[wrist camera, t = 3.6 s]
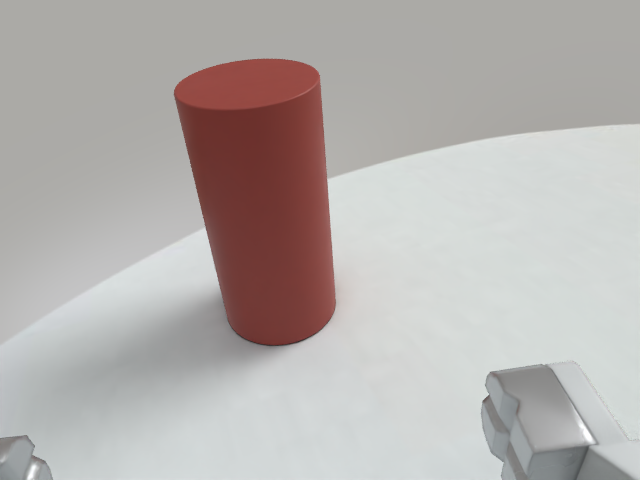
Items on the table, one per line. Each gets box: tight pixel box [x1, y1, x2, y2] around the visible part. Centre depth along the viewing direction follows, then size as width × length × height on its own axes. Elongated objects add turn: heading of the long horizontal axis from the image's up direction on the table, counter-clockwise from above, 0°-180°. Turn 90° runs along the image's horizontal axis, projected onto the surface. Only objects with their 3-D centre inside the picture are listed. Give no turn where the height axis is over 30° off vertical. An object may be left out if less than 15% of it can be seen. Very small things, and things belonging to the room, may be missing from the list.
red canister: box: [174, 59, 336, 345], centre depth 20 cm, size 5×5×10 cm
